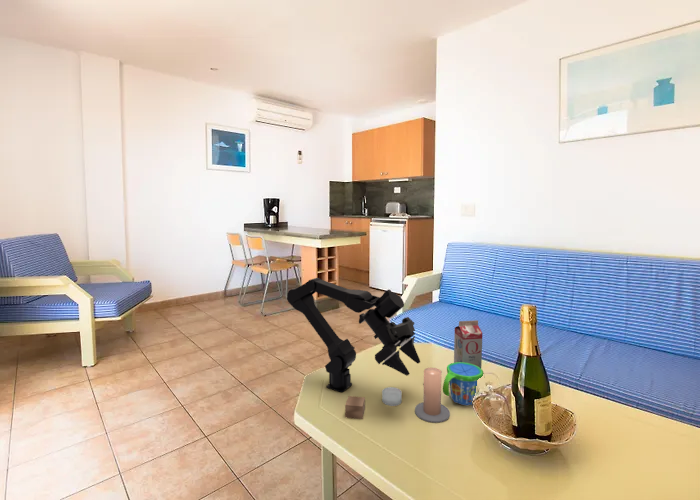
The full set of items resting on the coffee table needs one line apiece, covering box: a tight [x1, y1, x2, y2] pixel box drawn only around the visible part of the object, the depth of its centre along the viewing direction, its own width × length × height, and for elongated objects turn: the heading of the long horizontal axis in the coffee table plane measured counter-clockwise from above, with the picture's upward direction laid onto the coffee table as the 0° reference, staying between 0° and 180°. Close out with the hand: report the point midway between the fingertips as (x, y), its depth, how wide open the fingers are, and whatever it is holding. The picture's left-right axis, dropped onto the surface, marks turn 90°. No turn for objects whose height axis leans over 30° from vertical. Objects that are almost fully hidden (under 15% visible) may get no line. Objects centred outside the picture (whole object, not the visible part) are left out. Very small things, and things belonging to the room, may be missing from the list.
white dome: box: [381, 386, 403, 407], centre depth 111 cm, size 6×6×3 cm
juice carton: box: [453, 319, 483, 369], centre depth 121 cm, size 7×7×22 cm
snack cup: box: [442, 362, 485, 407], centre depth 111 cm, size 16×10×10 cm
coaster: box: [414, 401, 451, 424], centre depth 105 cm, size 10×10×1 cm
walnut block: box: [344, 395, 366, 420], centre depth 105 cm, size 5×5×4 cm
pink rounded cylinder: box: [422, 367, 443, 415], centre depth 104 cm, size 5×5×12 cm
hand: (414, 368), depth 106 cm, fingers open, 9 cm apart
